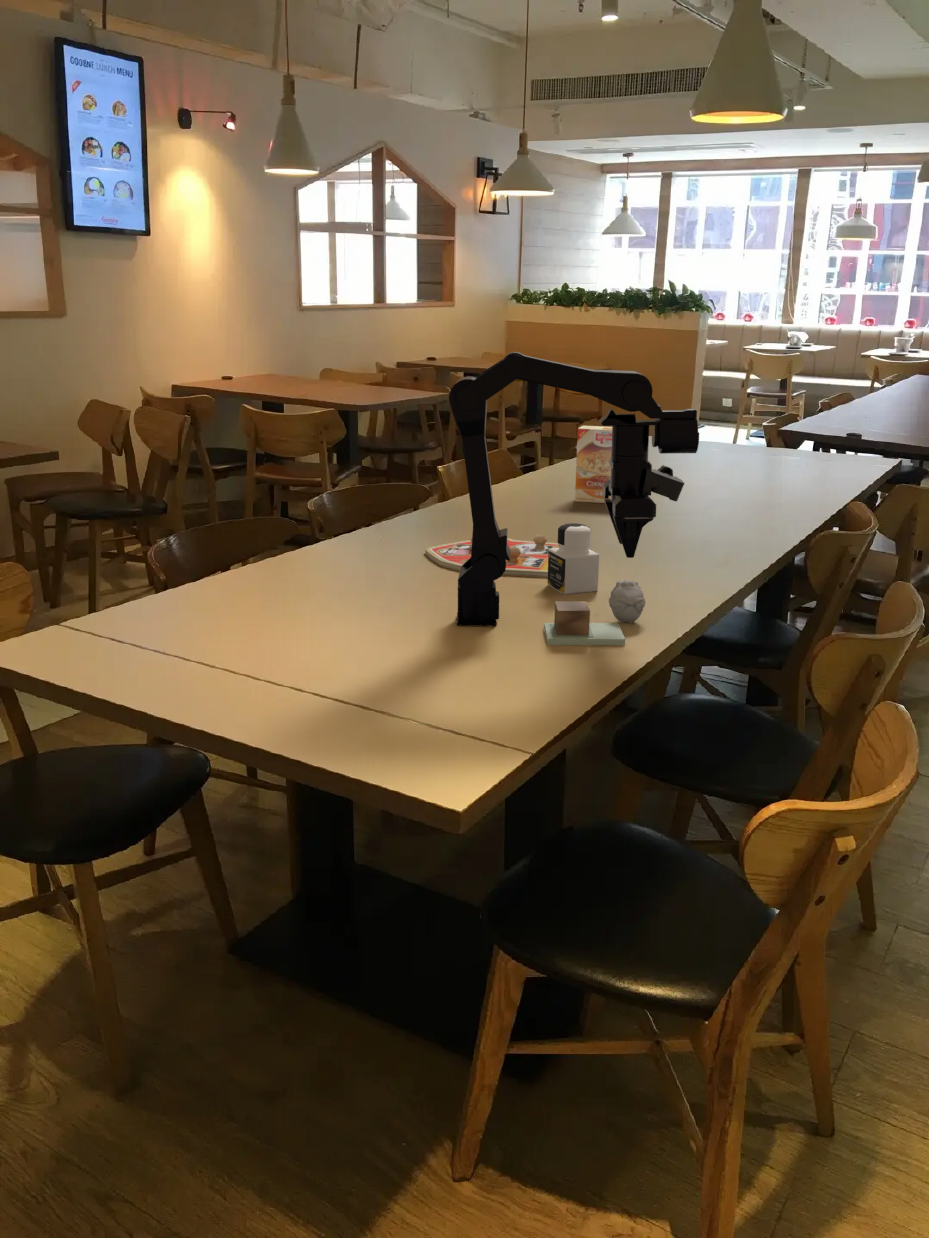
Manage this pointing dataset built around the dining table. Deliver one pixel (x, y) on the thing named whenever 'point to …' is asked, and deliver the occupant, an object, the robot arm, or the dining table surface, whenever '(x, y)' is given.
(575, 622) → the walnut block
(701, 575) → the dining table surface
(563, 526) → the medicine bottle
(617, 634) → the base board
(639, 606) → the grey lumpy rounded piece
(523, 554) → the knob puzzle
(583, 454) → the coffeecake box
